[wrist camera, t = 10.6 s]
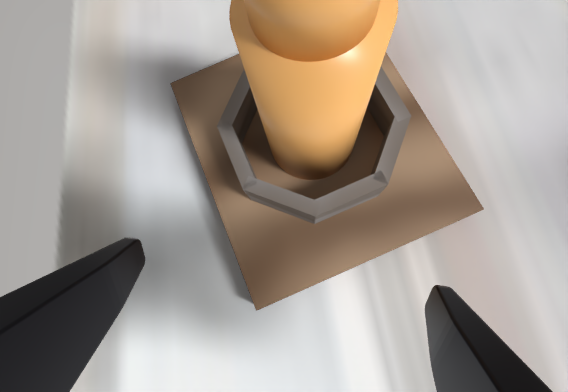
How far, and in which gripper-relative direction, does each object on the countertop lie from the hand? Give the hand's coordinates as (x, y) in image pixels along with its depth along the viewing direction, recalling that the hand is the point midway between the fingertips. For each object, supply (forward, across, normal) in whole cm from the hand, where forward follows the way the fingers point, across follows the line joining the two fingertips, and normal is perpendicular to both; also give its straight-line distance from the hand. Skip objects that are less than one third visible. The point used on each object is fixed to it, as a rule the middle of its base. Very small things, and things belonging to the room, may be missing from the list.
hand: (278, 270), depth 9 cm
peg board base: (+13, 0, +1) cm, 13 cm away
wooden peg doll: (+12, 0, 0) cm, 12 cm away
